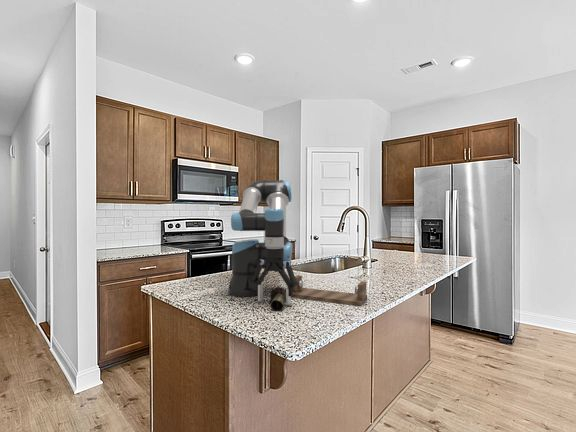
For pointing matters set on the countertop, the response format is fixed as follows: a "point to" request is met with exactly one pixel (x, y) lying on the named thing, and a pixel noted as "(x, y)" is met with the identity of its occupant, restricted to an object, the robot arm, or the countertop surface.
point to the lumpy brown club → (278, 298)
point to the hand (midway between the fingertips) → (274, 302)
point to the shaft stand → (330, 294)
